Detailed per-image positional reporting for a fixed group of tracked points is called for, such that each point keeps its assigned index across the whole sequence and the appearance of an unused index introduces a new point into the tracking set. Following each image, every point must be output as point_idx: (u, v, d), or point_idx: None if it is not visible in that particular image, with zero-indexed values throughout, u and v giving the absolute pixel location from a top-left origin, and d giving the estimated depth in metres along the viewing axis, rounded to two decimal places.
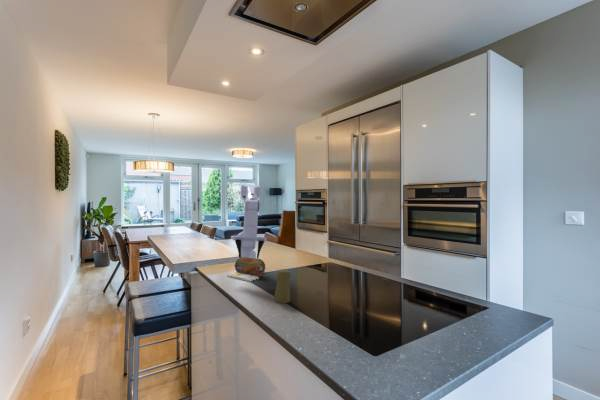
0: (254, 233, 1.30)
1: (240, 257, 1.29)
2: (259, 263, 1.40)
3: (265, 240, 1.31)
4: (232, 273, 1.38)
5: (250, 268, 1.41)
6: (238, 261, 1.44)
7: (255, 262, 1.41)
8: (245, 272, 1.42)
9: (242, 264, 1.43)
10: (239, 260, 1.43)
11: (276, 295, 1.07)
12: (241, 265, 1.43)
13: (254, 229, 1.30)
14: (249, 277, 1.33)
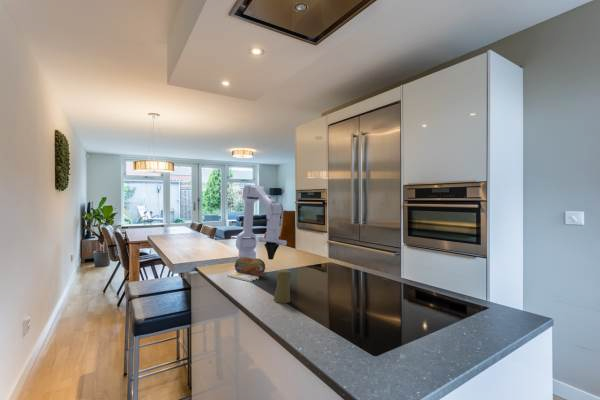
0: (272, 237, 1.34)
1: None
2: (259, 263, 1.40)
3: (283, 244, 1.33)
4: (232, 273, 1.38)
5: (250, 268, 1.41)
6: (238, 261, 1.44)
7: (255, 262, 1.41)
8: (245, 272, 1.42)
9: (242, 264, 1.43)
10: (239, 260, 1.43)
11: (276, 295, 1.07)
12: (241, 265, 1.43)
13: (273, 232, 1.34)
14: (249, 277, 1.33)
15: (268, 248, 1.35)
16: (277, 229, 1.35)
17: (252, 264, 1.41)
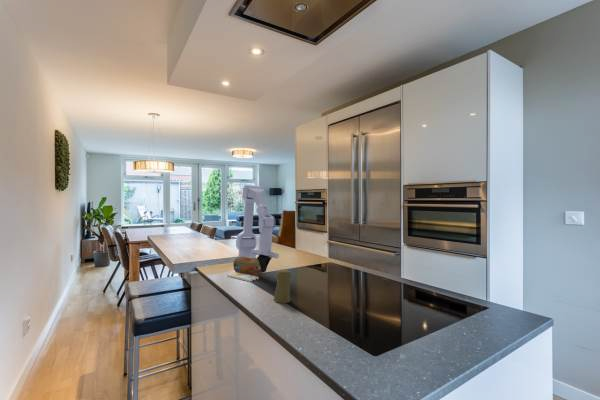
0: (265, 250, 1.36)
1: (262, 271, 1.38)
2: (257, 263, 1.41)
3: (275, 257, 1.34)
4: (232, 273, 1.38)
5: (248, 268, 1.42)
6: (236, 261, 1.44)
7: (253, 262, 1.41)
8: (243, 272, 1.42)
9: (240, 264, 1.43)
10: (237, 260, 1.44)
11: (276, 295, 1.07)
12: (239, 265, 1.43)
13: (265, 246, 1.36)
14: (249, 277, 1.33)
15: (261, 261, 1.37)
16: (269, 242, 1.37)
17: (250, 264, 1.42)
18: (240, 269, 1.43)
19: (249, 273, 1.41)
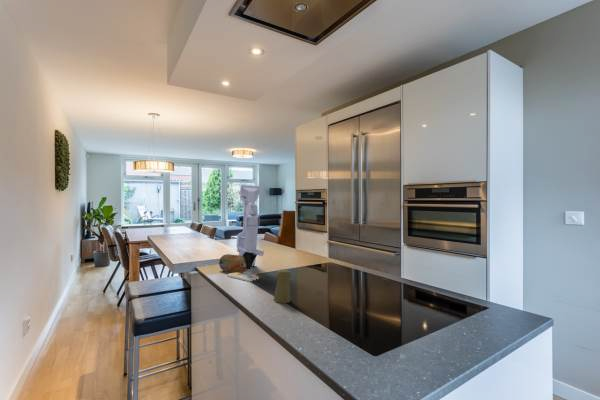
0: (250, 247, 1.40)
1: (247, 268, 1.42)
2: (243, 260, 1.45)
3: (260, 254, 1.39)
4: (232, 273, 1.38)
5: (234, 265, 1.46)
6: (222, 258, 1.48)
7: (239, 259, 1.45)
8: (229, 269, 1.46)
9: (226, 261, 1.47)
10: (223, 257, 1.47)
11: (276, 295, 1.07)
12: (225, 262, 1.47)
13: (250, 243, 1.40)
14: (249, 277, 1.33)
15: (246, 258, 1.41)
16: (253, 240, 1.41)
17: (236, 261, 1.46)
18: (226, 266, 1.47)
19: (235, 270, 1.45)
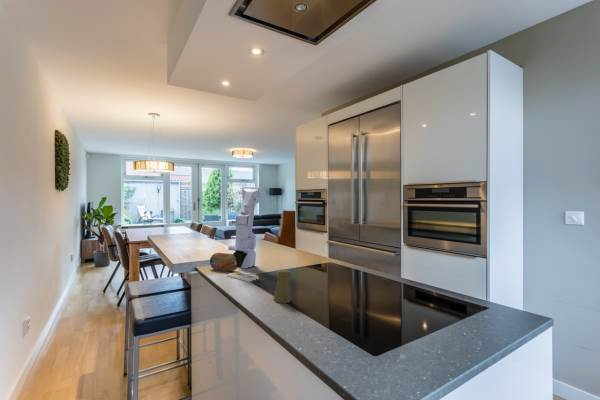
0: (240, 246, 1.43)
1: (238, 266, 1.45)
2: (234, 258, 1.48)
3: (250, 252, 1.42)
4: (232, 273, 1.38)
5: (225, 263, 1.48)
6: (213, 257, 1.50)
7: (230, 257, 1.48)
8: (220, 267, 1.48)
9: (217, 259, 1.49)
10: (214, 256, 1.50)
11: (276, 295, 1.07)
12: (216, 260, 1.49)
13: (241, 242, 1.43)
14: (249, 277, 1.33)
15: (237, 256, 1.44)
16: (242, 239, 1.43)
17: (227, 259, 1.48)
18: (216, 265, 1.49)
19: (225, 268, 1.48)
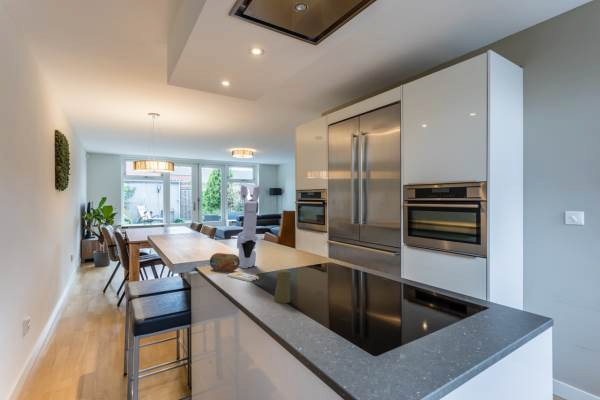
0: (242, 234, 1.35)
1: None
2: (234, 258, 1.47)
3: None
4: (232, 273, 1.38)
5: (225, 263, 1.48)
6: (213, 257, 1.49)
7: (230, 258, 1.48)
8: (220, 267, 1.48)
9: (217, 260, 1.49)
10: (214, 256, 1.49)
11: (276, 295, 1.07)
12: (216, 261, 1.49)
13: (243, 230, 1.35)
14: (249, 277, 1.33)
15: None
16: (251, 227, 1.34)
17: (227, 259, 1.48)
18: (216, 265, 1.49)
19: (225, 268, 1.48)
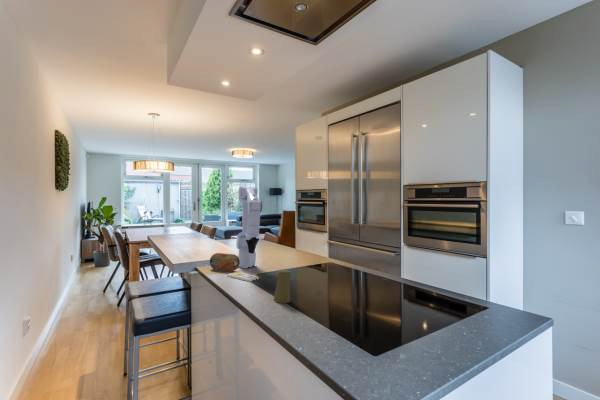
0: (247, 231, 1.43)
1: (249, 252, 1.45)
2: (234, 258, 1.47)
3: None
4: (232, 273, 1.38)
5: (225, 263, 1.48)
6: (213, 257, 1.50)
7: (230, 258, 1.48)
8: (220, 267, 1.48)
9: (217, 260, 1.49)
10: (214, 256, 1.49)
11: (276, 295, 1.07)
12: (216, 261, 1.49)
13: (247, 227, 1.43)
14: (249, 277, 1.33)
15: None
16: (256, 225, 1.42)
17: (227, 259, 1.48)
18: (216, 265, 1.49)
19: (225, 268, 1.48)
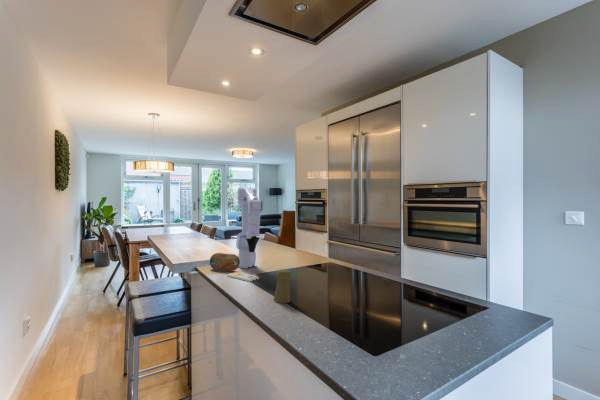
0: (247, 230, 1.45)
1: (250, 251, 1.46)
2: (234, 258, 1.47)
3: None
4: (232, 273, 1.38)
5: (225, 263, 1.48)
6: (213, 257, 1.49)
7: (230, 258, 1.48)
8: (220, 267, 1.48)
9: (217, 260, 1.49)
10: (214, 256, 1.49)
11: (276, 295, 1.07)
12: (216, 261, 1.49)
13: (248, 226, 1.45)
14: (249, 277, 1.33)
15: None
16: (256, 224, 1.44)
17: (227, 259, 1.48)
18: (216, 265, 1.49)
19: (225, 268, 1.48)
